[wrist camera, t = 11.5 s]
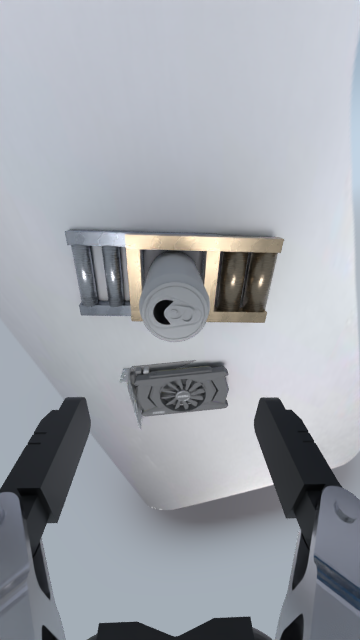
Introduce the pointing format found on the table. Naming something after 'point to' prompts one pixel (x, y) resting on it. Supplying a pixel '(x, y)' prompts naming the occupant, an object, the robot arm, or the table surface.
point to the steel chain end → (112, 266)
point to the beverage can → (174, 298)
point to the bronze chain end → (214, 271)
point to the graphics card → (175, 388)
